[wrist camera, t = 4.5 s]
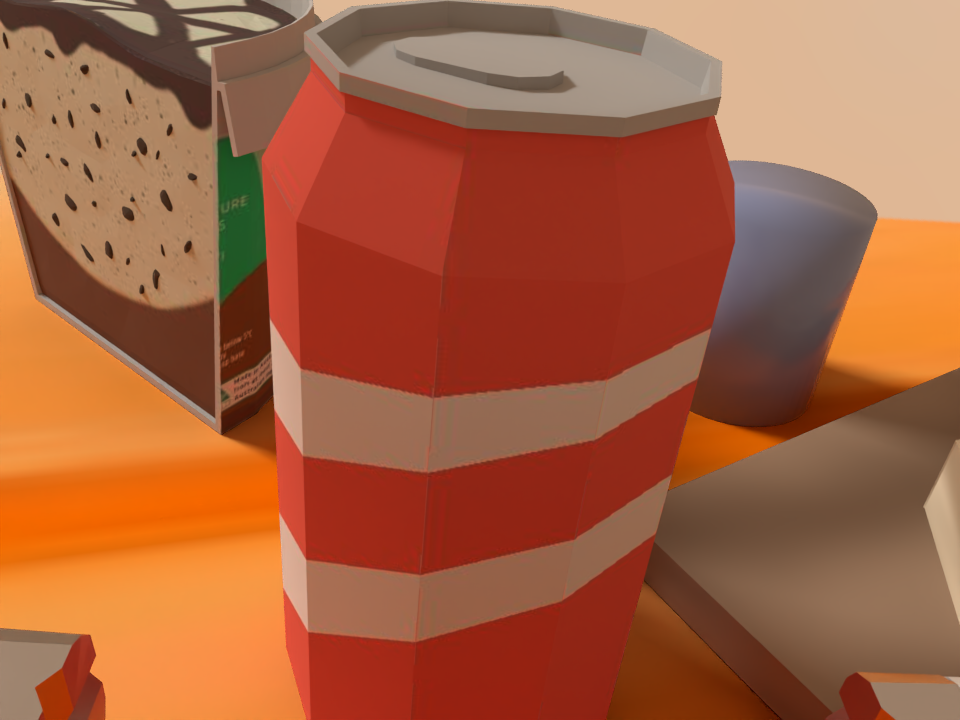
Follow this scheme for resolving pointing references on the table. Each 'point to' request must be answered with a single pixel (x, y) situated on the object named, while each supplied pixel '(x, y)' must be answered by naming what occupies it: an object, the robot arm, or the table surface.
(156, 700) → the table surface
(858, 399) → the table surface
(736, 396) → the lavender rounded cylinder
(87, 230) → the food container
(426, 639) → the beverage can
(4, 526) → the table surface
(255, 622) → the table surface
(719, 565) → the square plate with ring
